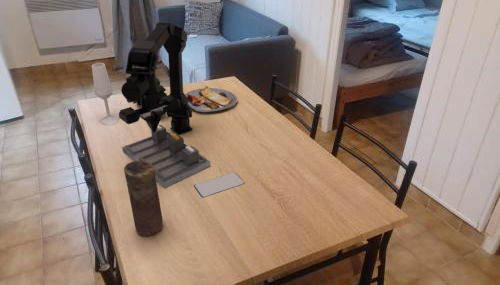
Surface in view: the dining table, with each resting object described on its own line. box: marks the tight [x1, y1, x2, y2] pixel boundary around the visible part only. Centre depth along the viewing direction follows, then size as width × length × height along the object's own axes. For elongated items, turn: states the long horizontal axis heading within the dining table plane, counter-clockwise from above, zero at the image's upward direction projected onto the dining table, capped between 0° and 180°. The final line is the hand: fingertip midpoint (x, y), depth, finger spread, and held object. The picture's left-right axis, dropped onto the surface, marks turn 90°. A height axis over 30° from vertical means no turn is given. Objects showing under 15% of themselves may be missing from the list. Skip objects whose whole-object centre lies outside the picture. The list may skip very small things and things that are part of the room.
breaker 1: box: [150, 124, 168, 142], centre depth 135 cm, size 4×4×5 cm
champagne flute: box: [91, 62, 119, 125], centre depth 146 cm, size 7×7×24 cm
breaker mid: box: [168, 133, 185, 153], centre depth 129 cm, size 4×4×5 cm
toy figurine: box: [156, 76, 168, 115], centre depth 157 cm, size 9×19×25 cm
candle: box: [123, 160, 164, 237], centre depth 95 cm, size 8×7×20 cm
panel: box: [121, 130, 211, 189], centre depth 128 cm, size 18×28×3 cm, turn 43°
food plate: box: [184, 86, 238, 113], centre depth 168 cm, size 25×23×4 cm
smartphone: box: [193, 172, 245, 198], centre depth 117 cm, size 7×1×15 cm
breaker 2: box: [182, 145, 200, 166], centre depth 123 cm, size 4×4×5 cm
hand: (153, 132), depth 121 cm, fingers closed
